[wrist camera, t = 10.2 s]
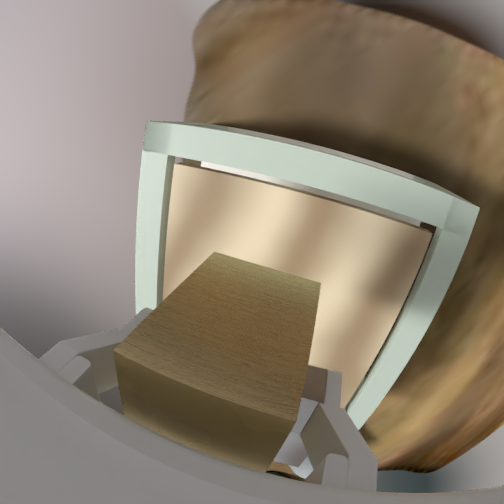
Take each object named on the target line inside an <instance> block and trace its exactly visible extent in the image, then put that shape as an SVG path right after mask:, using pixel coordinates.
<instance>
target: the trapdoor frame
mask: <svg viewBox="0 0 504 504" xmlns="http://www.w3.org/2000/svg"><path fill="white" fill-rule="evenodd" d="M175 156H177V157H183V158H188V159H193V160H198V161H202V163H201V167H206V168H211V169H215V170H220V171H225V172H229V173H234V174H238V175H242V176H247V177H251V178H255V179H259V180H263V181H268V182H272V183H276V184H280V185H283V186H287V187H291V188H295V189H299V190H303V191H306V192H310V193H314V194H317V195H321V196H324V197H328V198H331V199H335V200H338V201H342V202H345V203H348V204H352V205H355V206H358V207H362V208H365V209H368V210H371V211H374V212H377V213H381V214H384V215H387V216H390V217H393V218H396V219H399V220H402V221H405V222H408V223H411V224H414V225H416V226H420V223H421V221H422V222H425V223H428V224H431V225H433V226H436V227H437V228H436V231H435V234H434V237H433V239H432V242H431V245H430V247H429V250H428V252H427V255H426V257H425V260H424V262H423V265H422V267H421V270H420V272H419V274H418V277H417V279H416V281H415V284H414V286H413V288H412V290H411V292H410V295H409V297H408V299H407V301H406V303H405V305H404V307H403V309H402V312H401V314H400V316H399V318H398V320H397V322H396V324H395V326H394V327H393V329H392V331H391V333H390V335H389V337H388V339H387V341H386V343H385V344H384V346H383V348H382V350H381V352H380V353H379V355H378V357H377V359H376V360H375V362H374V364H373V366H372V367H371V369H370V371H369V372H368V374H367V376H366V377H365V376H364V378H363V379H362V381H361V383H360V384H359V386H358V388H357V389H356V391H355V392H354V394H353V395H352V397H351V398H350V400H349V402H348V403H347V405H346V406H345V408H344V409H345V410H346V412H347V413H348V415H349V417H350V418H351V420H352V421H353V423H354V424H355V426H356V427H357V429H358V430H359V429H360V428H361V427H362V426H363V424H364V423H365V422H366V421H367V419H368V418H369V417H370V415H371V414H372V413H373V411H374V410H375V409H376V408H377V406H378V405H379V403H380V402H381V401H382V399H383V398H384V397H385V395H386V394H387V392H388V391H389V390H390V388H391V387H392V385H393V384H394V382H395V381H396V379H397V378H398V376H399V375H400V373H401V372H402V370H403V369H404V367H405V366H406V364H407V362H408V361H409V359H410V358H411V356H412V354H413V353H414V351H415V350H416V348H417V346H418V344H419V343H420V341H421V339H422V338H423V336H424V334H425V332H426V331H427V329H428V327H429V325H430V323H431V321H432V320H433V318H434V316H435V314H436V312H437V310H438V308H439V306H440V304H441V302H442V300H443V298H444V296H445V294H446V292H447V290H448V288H449V286H450V283H451V281H452V279H453V277H454V275H455V272H456V270H457V268H458V265H459V263H460V261H461V258H462V256H463V253H464V251H465V248H466V246H467V243H468V241H469V238H470V235H471V233H472V230H473V227H474V224H475V221H476V218H477V215H478V212H479V209H480V208H479V207H478V206H476V205H474V204H472V203H471V202H469V201H467V200H465V199H463V198H462V197H460V196H458V195H456V194H454V193H452V192H450V191H448V190H446V189H445V188H443V187H441V186H439V185H437V184H435V183H433V182H431V181H428V180H425V179H423V178H420V177H417V176H415V175H412V174H409V173H406V172H404V171H401V170H398V169H395V168H392V167H389V166H386V165H383V164H380V163H377V162H374V161H370V160H367V159H364V158H361V157H357V156H354V155H351V154H347V153H344V152H340V151H337V150H333V149H329V148H325V147H322V146H318V145H314V144H310V143H306V142H302V141H297V140H293V139H289V138H284V137H280V136H275V135H270V134H266V133H261V132H256V131H250V130H245V129H239V128H234V127H228V126H222V125H215V124H207V123H192V122H169V121H146V127H145V135H144V142H143V151H142V159H141V170H140V181H139V192H138V207H137V225H136V258H135V284H136V285H135V293H136V315H137V314H138V313H139V312H140V311H141V310H142V309H144V308H150V309H152V310H154V309H155V308H156V307H157V306H158V305H159V304H160V303H161V302H162V301H163V284H164V266H165V251H166V237H167V225H168V215H169V205H170V195H171V186H172V178H173V170H174V162H175Z"/></svg>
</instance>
